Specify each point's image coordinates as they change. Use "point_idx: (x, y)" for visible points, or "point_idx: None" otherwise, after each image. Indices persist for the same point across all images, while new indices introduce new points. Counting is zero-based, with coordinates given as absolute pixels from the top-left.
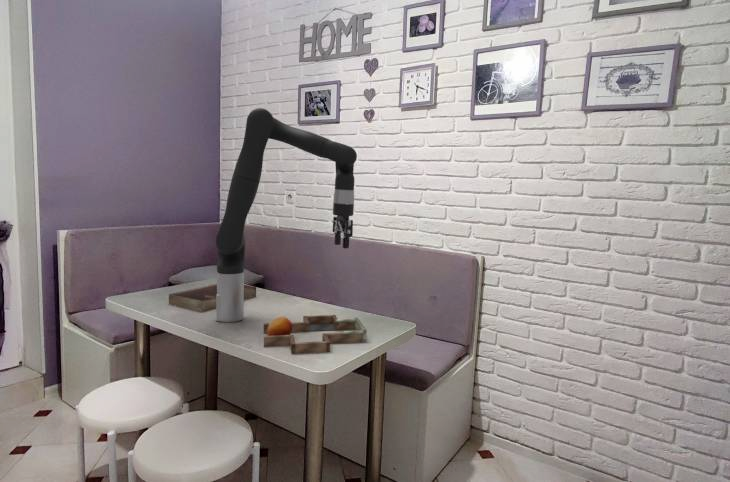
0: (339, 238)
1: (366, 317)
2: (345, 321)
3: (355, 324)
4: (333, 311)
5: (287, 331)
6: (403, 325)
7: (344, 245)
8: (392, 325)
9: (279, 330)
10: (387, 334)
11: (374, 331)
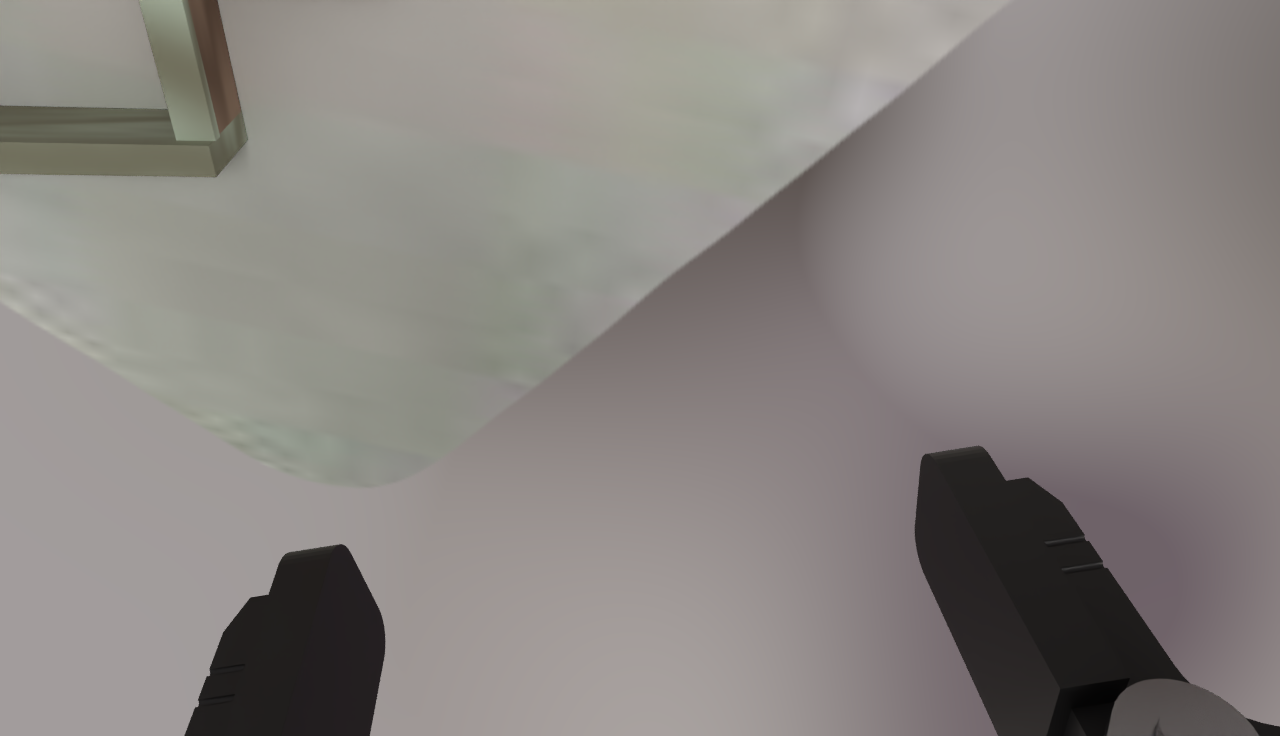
0: (987, 672)
1: (551, 272)
2: (153, 41)
3: (171, 127)
4: (774, 30)
5: None
6: (347, 457)
7: (261, 624)
8: (345, 397)
9: None
10: (128, 322)
11: (188, 252)
